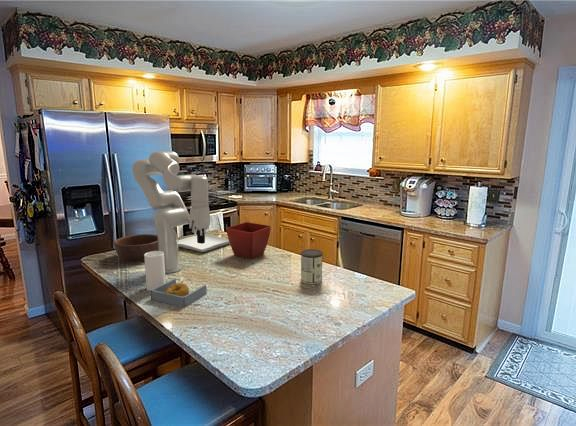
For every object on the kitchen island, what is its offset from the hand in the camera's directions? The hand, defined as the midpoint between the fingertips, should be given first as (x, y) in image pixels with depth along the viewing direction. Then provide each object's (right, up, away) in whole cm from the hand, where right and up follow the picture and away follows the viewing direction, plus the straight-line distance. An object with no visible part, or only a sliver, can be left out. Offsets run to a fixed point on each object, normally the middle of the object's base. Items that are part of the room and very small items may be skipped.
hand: (201, 242), depth 169 cm
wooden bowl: (-45, -12, +41) cm, 62 cm away
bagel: (-8, -22, -12) cm, 27 cm away
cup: (-20, -20, -2) cm, 29 cm away
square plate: (-14, -8, +64) cm, 66 cm away
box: (-6, -22, -12) cm, 26 cm away
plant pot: (+17, -11, +46) cm, 50 cm away
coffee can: (+51, -19, +7) cm, 55 cm away
